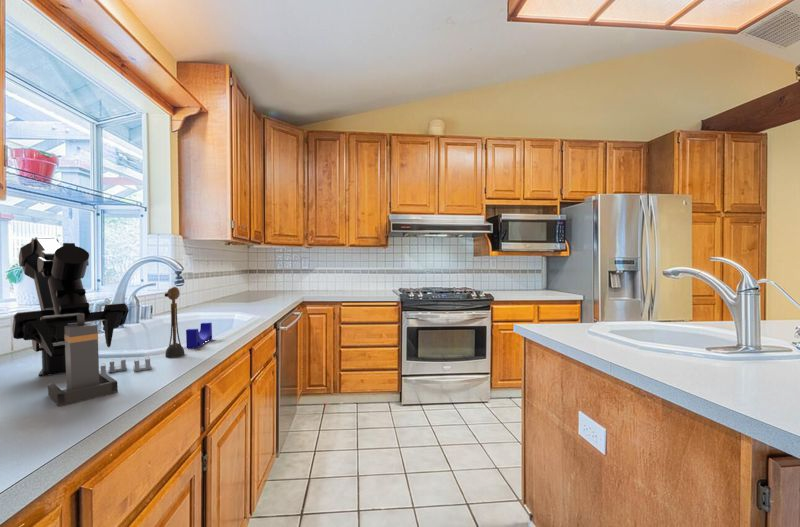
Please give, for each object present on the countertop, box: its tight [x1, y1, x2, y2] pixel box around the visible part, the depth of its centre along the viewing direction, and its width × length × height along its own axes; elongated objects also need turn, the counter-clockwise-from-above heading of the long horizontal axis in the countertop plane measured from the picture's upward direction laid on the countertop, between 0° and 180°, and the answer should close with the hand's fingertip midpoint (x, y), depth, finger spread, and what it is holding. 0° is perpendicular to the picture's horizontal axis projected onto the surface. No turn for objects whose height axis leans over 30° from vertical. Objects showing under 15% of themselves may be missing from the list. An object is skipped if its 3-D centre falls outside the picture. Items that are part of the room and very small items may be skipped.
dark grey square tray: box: [47, 373, 119, 407], centre depth 79 cm, size 10×10×2 cm
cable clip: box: [185, 322, 213, 349], centre depth 123 cm, size 12×4×6 cm, turn 6°
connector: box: [64, 314, 100, 391], centre depth 79 cm, size 5×5×16 cm
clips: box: [99, 355, 152, 375], centre depth 95 cm, size 7×13×3 cm, turn 128°
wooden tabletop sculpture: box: [164, 286, 185, 359], centre depth 108 cm, size 6×5×20 cm
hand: (82, 350), depth 79 cm, fingers open, 9 cm apart
